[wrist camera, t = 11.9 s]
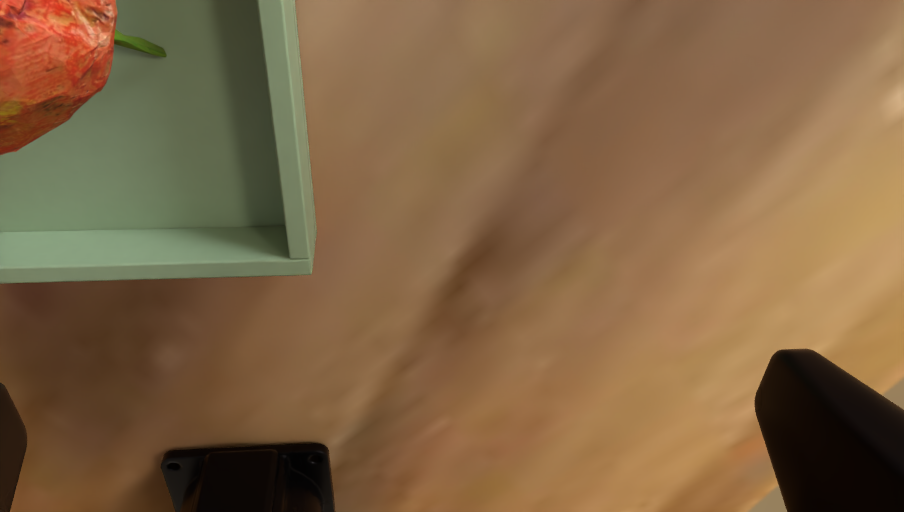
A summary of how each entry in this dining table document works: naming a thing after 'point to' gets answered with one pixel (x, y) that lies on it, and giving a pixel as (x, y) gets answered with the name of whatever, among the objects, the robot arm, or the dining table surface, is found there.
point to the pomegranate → (54, 62)
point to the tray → (173, 157)
